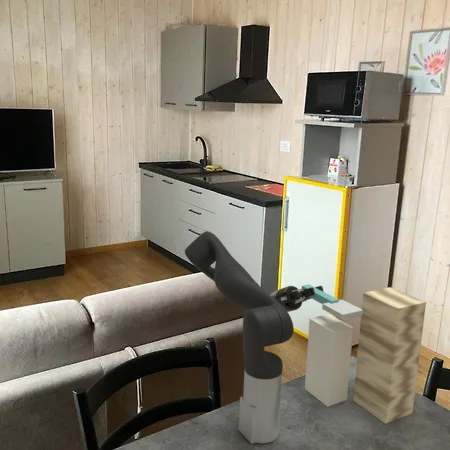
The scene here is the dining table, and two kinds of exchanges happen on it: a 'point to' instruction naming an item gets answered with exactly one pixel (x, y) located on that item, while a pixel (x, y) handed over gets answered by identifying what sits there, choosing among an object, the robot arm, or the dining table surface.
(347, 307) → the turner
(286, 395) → the dining table surface
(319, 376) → the white block
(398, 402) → the tall wooden block
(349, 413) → the dining table surface
